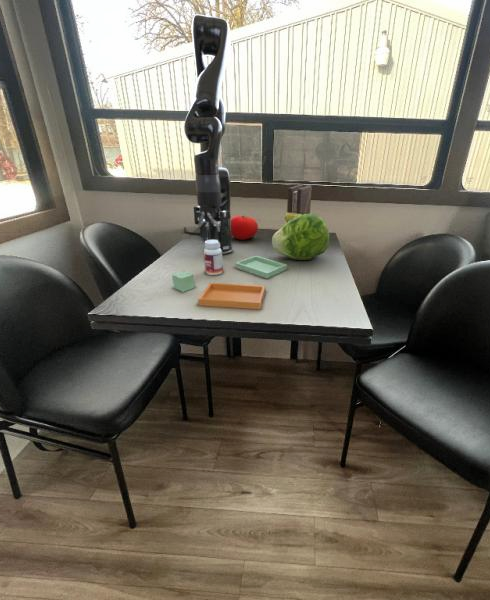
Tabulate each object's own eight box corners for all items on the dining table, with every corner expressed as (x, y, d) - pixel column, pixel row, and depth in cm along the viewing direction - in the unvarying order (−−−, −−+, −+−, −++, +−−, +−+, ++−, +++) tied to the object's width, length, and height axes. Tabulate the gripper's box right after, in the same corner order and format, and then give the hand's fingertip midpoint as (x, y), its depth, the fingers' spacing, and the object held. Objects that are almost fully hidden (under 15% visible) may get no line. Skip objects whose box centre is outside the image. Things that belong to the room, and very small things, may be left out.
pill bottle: (202, 272, 106) (199, 241, 101) (216, 267, 110) (213, 238, 105) (212, 276, 102) (210, 245, 97) (226, 272, 107) (224, 241, 102)
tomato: (233, 234, 153) (233, 212, 147) (259, 236, 151) (259, 213, 146) (226, 241, 142) (224, 216, 137) (254, 243, 140) (253, 218, 135)
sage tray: (235, 267, 111) (234, 262, 110) (255, 260, 120) (255, 255, 119) (267, 278, 103) (267, 273, 102) (286, 269, 112) (286, 264, 111)
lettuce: (275, 250, 134) (268, 211, 122) (326, 243, 133) (324, 203, 121) (275, 273, 119) (268, 231, 108) (333, 265, 118) (332, 222, 107)
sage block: (173, 288, 93) (172, 274, 91) (185, 283, 97) (184, 270, 95) (182, 292, 91) (181, 278, 89) (194, 287, 94) (193, 274, 92)
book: (296, 233, 160) (298, 184, 148) (311, 235, 157) (315, 185, 146) (281, 244, 141) (283, 188, 130) (298, 246, 139) (301, 190, 127)
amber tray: (198, 305, 84) (198, 299, 83) (210, 288, 94) (210, 282, 93) (260, 309, 83) (260, 303, 82) (265, 291, 94) (265, 285, 93)
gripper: (233, 190, 93) (235, 241, 100) (203, 187, 100) (207, 234, 107) (214, 192, 87) (218, 246, 94) (184, 188, 94) (190, 238, 102)
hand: (212, 239), depth 101 cm, fingers open, 8 cm apart
